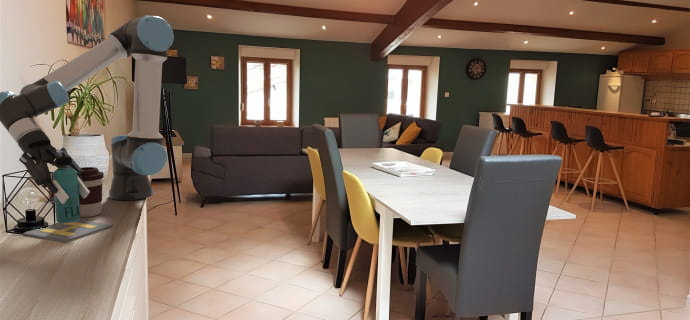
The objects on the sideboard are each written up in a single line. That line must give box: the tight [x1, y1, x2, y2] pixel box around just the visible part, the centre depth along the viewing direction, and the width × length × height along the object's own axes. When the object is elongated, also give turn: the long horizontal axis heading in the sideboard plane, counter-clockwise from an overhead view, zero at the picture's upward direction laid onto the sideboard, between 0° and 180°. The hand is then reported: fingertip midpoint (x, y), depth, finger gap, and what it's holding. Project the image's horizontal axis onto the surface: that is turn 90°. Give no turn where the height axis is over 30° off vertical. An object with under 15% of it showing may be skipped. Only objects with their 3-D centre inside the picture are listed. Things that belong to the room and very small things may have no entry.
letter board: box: [23, 219, 113, 243], centre depth 145 cm, size 16×16×1 cm
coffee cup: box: [79, 166, 105, 218], centre depth 161 cm, size 10×10×15 cm
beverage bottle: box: [51, 156, 81, 223], centre depth 143 cm, size 6×7×20 cm
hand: (76, 197), depth 142 cm, fingers closed on beverage bottle, 6 cm apart
